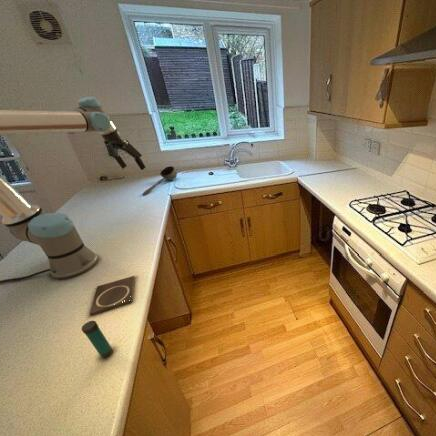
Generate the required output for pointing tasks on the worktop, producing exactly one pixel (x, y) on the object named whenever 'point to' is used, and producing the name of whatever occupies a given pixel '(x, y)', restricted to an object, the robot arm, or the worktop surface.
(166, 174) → the ladle
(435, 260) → the worktop surface
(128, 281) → the induction cooktop
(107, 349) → the marker
